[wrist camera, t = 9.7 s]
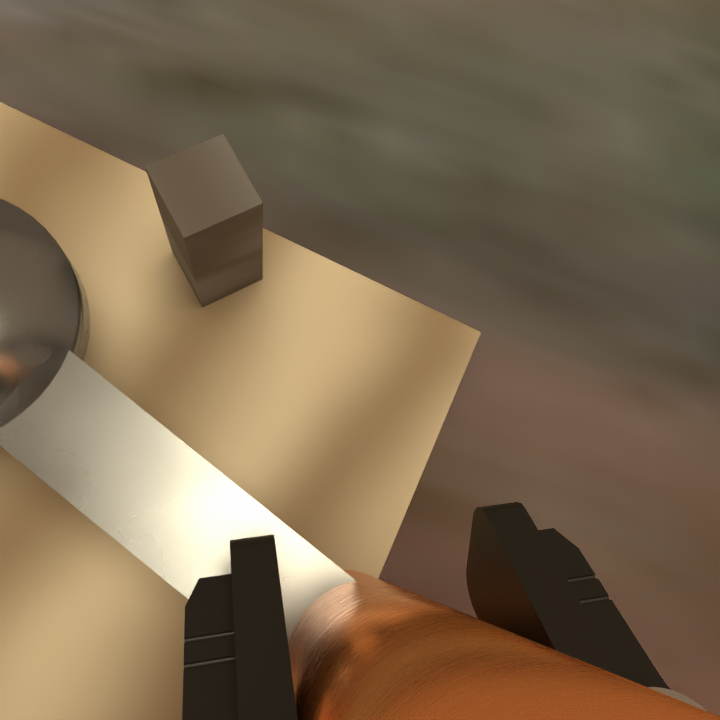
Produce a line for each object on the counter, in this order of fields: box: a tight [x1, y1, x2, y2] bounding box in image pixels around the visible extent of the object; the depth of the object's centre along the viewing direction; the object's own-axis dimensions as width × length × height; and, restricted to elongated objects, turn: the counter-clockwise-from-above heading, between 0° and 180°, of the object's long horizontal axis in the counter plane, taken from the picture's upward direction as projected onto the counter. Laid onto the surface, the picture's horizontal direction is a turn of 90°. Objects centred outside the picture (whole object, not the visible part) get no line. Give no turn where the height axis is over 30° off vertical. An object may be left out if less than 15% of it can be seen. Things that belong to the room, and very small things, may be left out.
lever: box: [0, 199, 720, 720], centre depth 11 cm, size 17×6×16 cm, turn 52°
